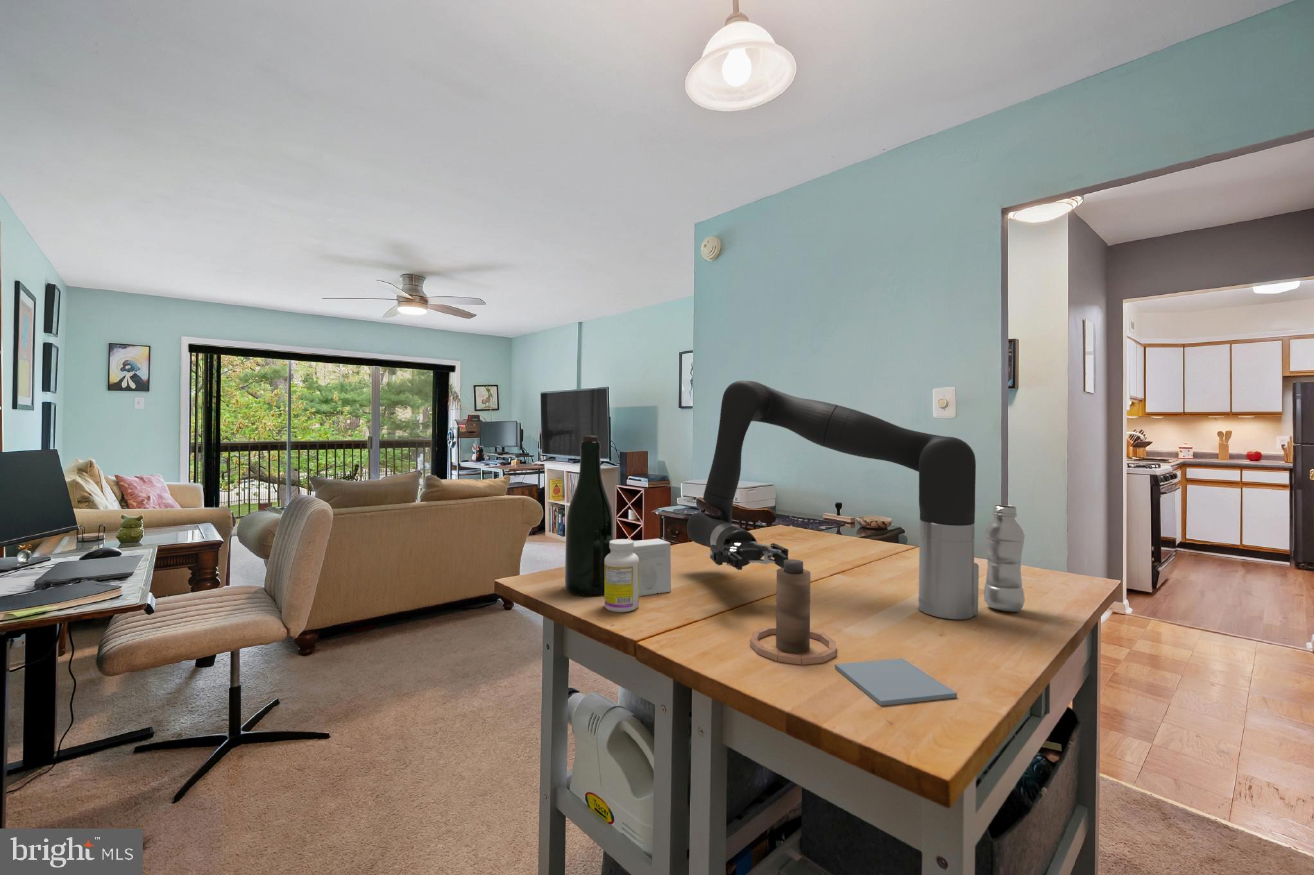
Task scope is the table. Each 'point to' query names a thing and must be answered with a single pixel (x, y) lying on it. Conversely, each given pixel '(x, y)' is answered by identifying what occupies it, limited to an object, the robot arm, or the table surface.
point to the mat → (894, 681)
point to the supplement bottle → (621, 577)
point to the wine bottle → (588, 525)
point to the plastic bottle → (1004, 560)
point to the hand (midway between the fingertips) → (763, 563)
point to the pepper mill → (793, 607)
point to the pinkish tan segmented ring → (793, 658)
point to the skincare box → (653, 566)
